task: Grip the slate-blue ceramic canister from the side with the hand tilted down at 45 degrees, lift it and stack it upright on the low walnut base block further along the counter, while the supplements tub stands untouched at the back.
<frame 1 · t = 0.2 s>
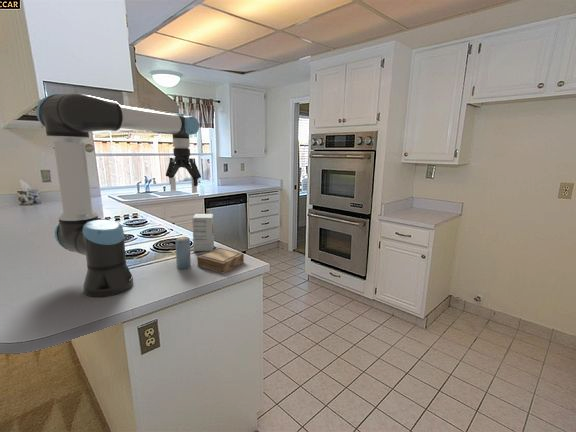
hand: (183, 191, 148), 27 cm above the countertop, tool pointing down, fingers open, 13 cm apart
supplement box: (204, 248, 149), on the countertop
canister: (183, 266, 126), on the countertop
walnut base: (221, 263, 131), on the countertop
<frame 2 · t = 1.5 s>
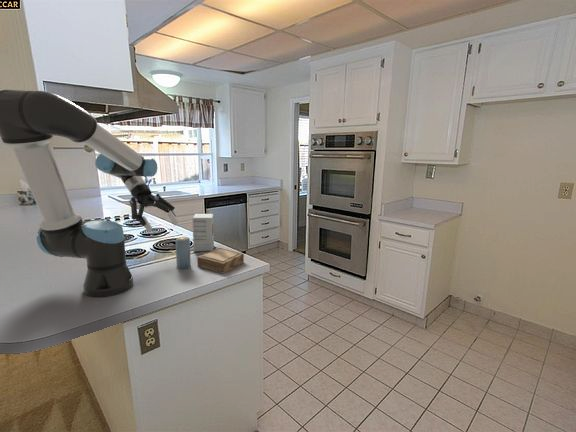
hand: (164, 227, 127), 16 cm above the countertop, tool tilted 45°, fingers open, 13 cm apart
nothing on the countertop moved.
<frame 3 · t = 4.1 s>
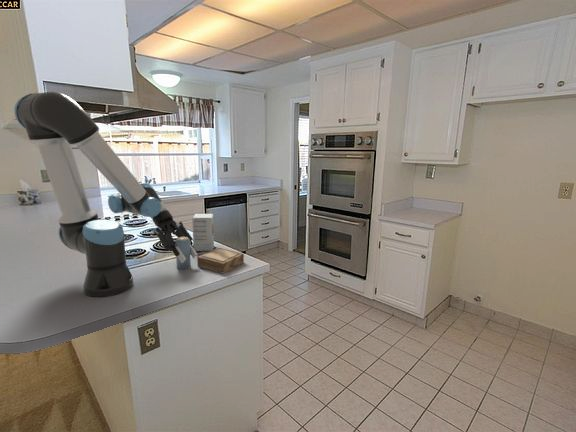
hand: (189, 258, 124), 4 cm above the countertop, tool tilted 45°, fingers closed on canister, 6 cm apart
canister: (183, 266, 126), on the countertop, touching gripper
everything else where it was.
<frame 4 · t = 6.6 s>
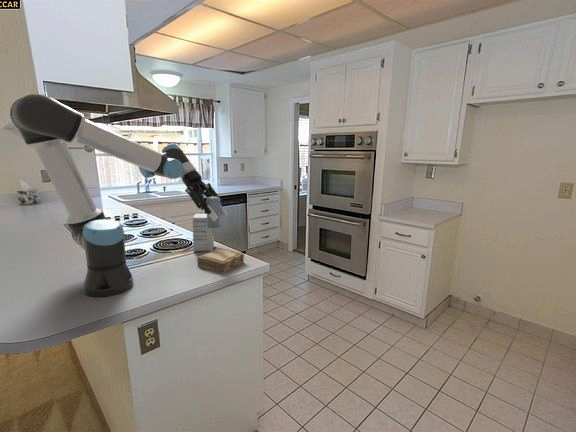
hand: (220, 217, 125), 21 cm above the countertop, tool tilted 45°, fingers closed on canister, 6 cm apart
canister: (213, 226, 128), point 17 cm above the countertop, touching gripper
everything else where it was.
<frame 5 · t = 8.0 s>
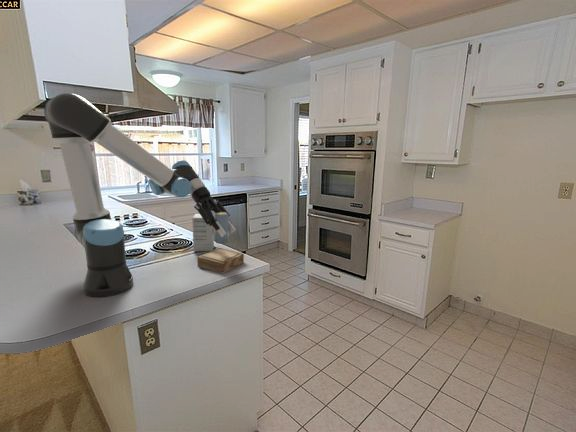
hand: (228, 233, 127), 14 cm above the countertop, tool tilted 45°, fingers closed on canister, 6 cm apart
canister: (222, 241, 129), point 10 cm above the countertop, touching gripper
everything else where it was.
when the fingers open (10 cm above the countertop, at t = 9.0 s): canister drops 2 cm, resting on walnut base.
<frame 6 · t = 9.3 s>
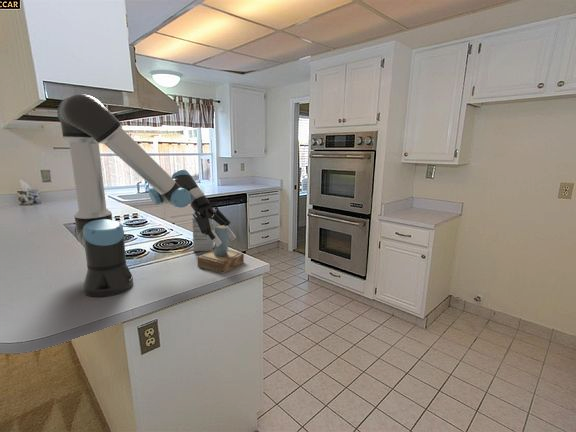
hand: (227, 241, 127), 11 cm above the countertop, tool tilted 45°, fingers open, 9 cm apart
canister: (220, 254, 130), point 4 cm above the countertop, touching walnut base
everything else where it was.
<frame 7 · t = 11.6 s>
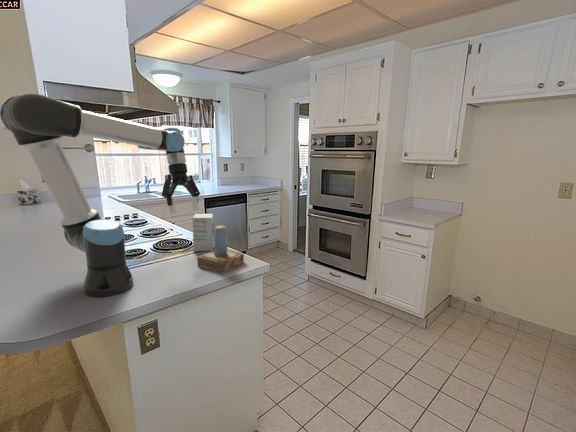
hand: (185, 212, 132), 21 cm above the countertop, tool tilted 15°, fingers open, 13 cm apart
nothing on the countertop moved.
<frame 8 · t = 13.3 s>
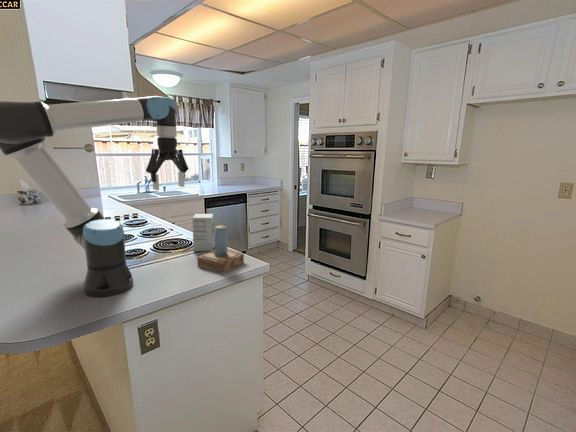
hand: (169, 188, 129), 32 cm above the countertop, tool pointing down, fingers open, 13 cm apart
nothing on the countertop moved.
at the end: canister inside the target area on the walnut base (0.1 cm from its centre), point 4.3 cm above the walnut base's base; canister tilted 0°; the gripper is holding nothing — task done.
